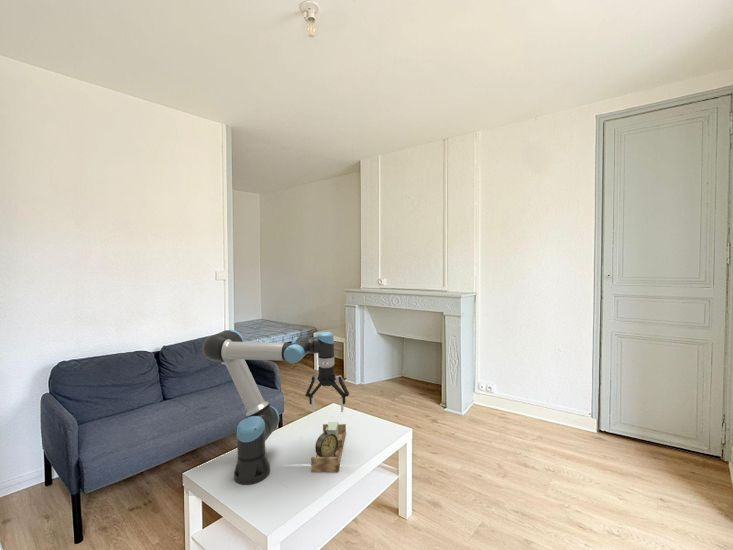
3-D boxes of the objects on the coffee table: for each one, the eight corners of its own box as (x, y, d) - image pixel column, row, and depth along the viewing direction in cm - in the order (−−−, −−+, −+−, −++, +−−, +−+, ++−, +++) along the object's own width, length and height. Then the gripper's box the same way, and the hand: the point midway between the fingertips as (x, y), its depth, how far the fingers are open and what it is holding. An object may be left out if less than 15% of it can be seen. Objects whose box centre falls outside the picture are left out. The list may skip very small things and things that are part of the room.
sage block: (326, 445, 175) (325, 430, 174) (329, 436, 184) (328, 421, 183) (336, 445, 174) (335, 430, 174) (338, 436, 183) (338, 421, 183)
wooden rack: (311, 472, 155) (311, 458, 155) (323, 435, 188) (323, 424, 188) (338, 472, 154) (338, 458, 154) (345, 435, 187) (345, 423, 187)
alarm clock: (321, 466, 157) (320, 430, 157) (313, 461, 161) (312, 427, 160) (339, 455, 165) (338, 421, 165) (331, 451, 169) (330, 418, 168)
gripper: (297, 368, 160) (299, 414, 160) (352, 367, 158) (353, 414, 159) (301, 363, 167) (303, 407, 168) (353, 363, 166) (355, 407, 166)
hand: (327, 410), depth 163 cm, fingers open, 13 cm apart
